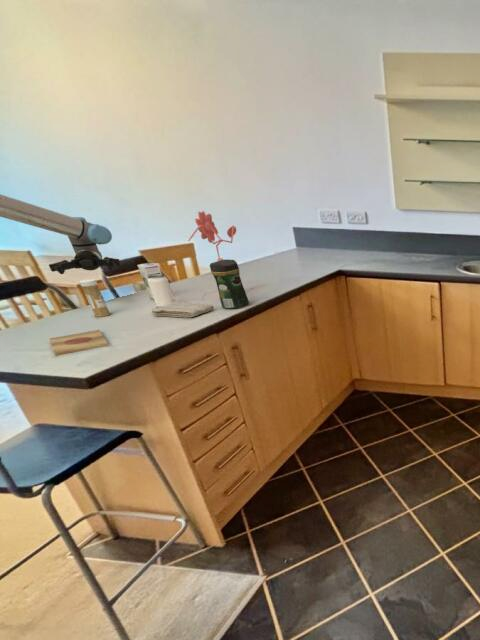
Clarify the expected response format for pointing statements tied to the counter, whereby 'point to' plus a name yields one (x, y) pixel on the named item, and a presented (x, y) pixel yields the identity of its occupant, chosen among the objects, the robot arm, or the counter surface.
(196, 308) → the washcloth
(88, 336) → the mat
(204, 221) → the red flower
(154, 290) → the can
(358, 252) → the counter surface
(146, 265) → the syrup box
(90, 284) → the sprinkles bottle
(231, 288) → the coffee jar
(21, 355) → the counter surface
